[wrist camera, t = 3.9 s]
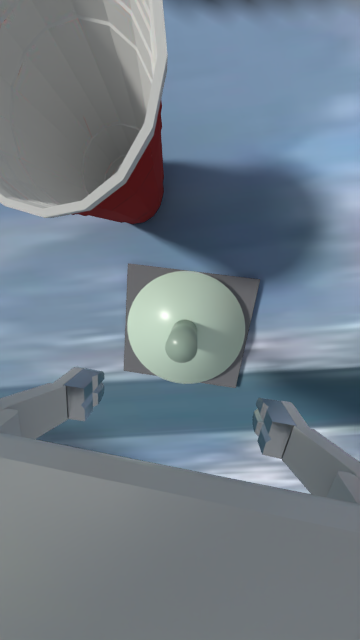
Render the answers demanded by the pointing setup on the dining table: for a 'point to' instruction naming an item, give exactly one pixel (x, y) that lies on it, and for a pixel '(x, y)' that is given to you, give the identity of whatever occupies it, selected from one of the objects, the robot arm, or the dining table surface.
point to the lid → (186, 327)
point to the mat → (238, 286)
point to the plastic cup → (82, 107)
